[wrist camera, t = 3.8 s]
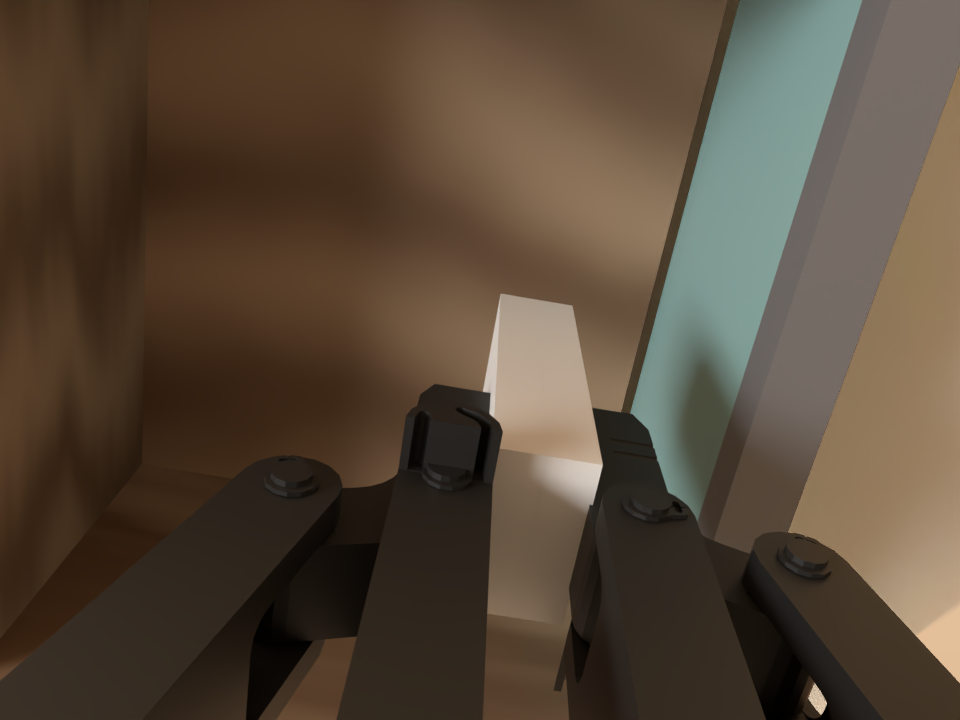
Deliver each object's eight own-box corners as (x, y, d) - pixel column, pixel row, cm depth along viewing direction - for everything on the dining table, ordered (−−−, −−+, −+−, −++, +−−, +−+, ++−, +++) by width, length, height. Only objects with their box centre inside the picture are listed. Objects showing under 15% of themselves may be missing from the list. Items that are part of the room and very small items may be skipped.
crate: (580, 544, 31) (612, 809, 21) (125, 469, 30) (-72, 703, 20) (747, -106, 23) (936, -198, 12) (129, -222, 22) (-197, -416, 12)
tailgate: (627, 568, 30) (679, 826, 20) (588, 561, 30) (622, 818, 20) (817, -99, 22) (1049, -180, 12) (764, -109, 22) (956, -198, 12)
